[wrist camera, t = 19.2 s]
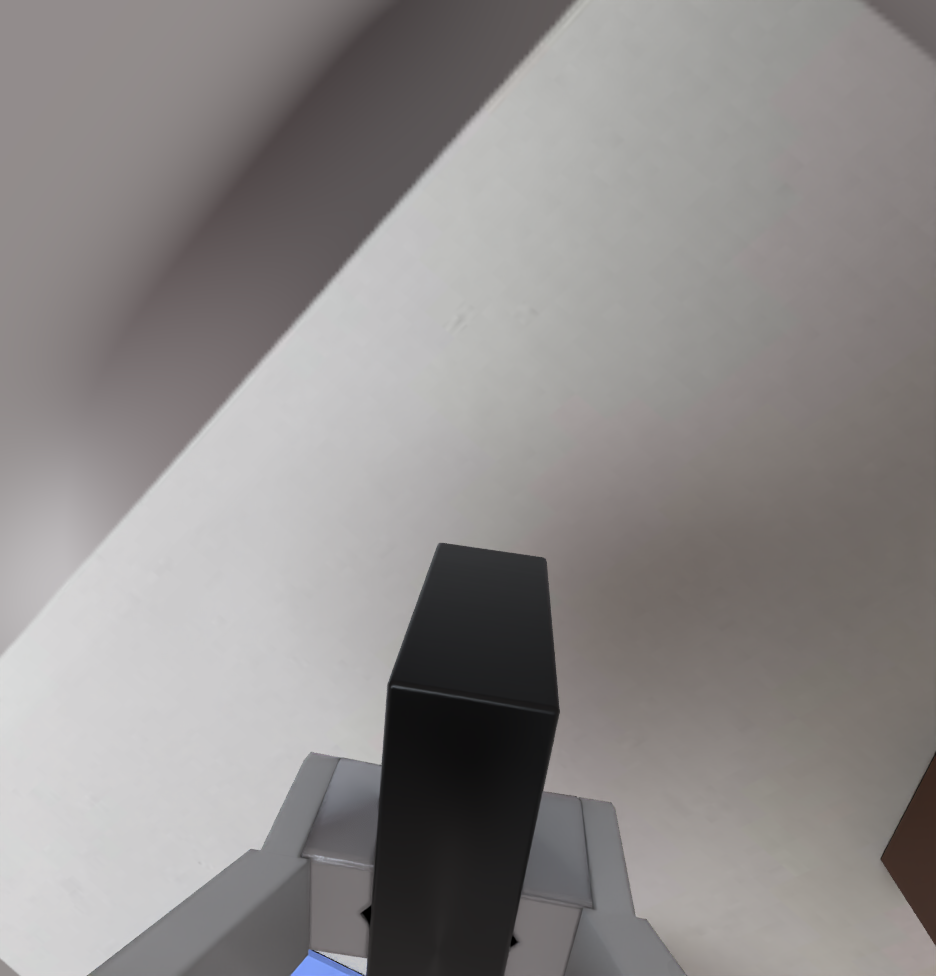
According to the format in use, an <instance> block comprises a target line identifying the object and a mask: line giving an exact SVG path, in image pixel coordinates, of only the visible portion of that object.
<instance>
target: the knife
mask: <svg viewBox="0 0 936 976" xmlns="http://www.w3.org/2000/svg"><path fill="white" fill-rule="evenodd" d="M559 713H560V709H559V697H558V686H557V674H556V663H555V652H554V640H553V629H552V617H551V606H550V595H549V583H548V572H547V562H546V559H545V558H543V557H536V556H530V555H523V554H516V553H509V552H502V551H495V550H488V549H481V548H474V547H467V546H460V545H453V544H447V543H439V544H438V546H437V548H436V551H435V553H434V556H433V559H432V562H431V565H430V567H429V570H428V573H427V576H426V578H425V581H424V584H423V587H422V590H421V592H420V595H419V598H418V601H417V604H416V606H415V609H414V612H413V615H412V618H411V620H410V623H409V626H408V629H407V631H406V634H405V637H404V640H403V643H402V645H401V648H400V651H399V654H398V657H397V659H396V662H395V665H394V668H393V670H392V673H391V676H390V679H389V682H388V685H387V699H386V713H385V726H384V740H383V754H382V767H381V781H380V795H379V808H378V822H377V836H376V849H375V863H374V877H373V890H372V904H371V918H370V931H369V945H368V959H367V972H366V976H504V973H505V969H506V964H507V959H508V954H509V950H510V945H511V940H512V935H513V931H514V926H515V921H516V917H517V912H518V907H519V902H520V898H521V893H522V888H523V883H524V879H525V874H526V869H527V865H528V860H529V855H530V850H531V846H532V841H533V836H534V831H535V827H536V822H537V817H538V813H539V808H540V803H541V798H542V794H543V789H544V784H545V779H546V775H547V770H548V765H549V761H550V756H551V751H552V746H553V742H554V737H555V732H556V727H557V723H558V718H559Z"/></svg>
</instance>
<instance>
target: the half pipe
mask: <svg viewBox="0 0 936 976" xmlns="http://www.w3.org/2000/svg"><path fill="white" fill-rule="evenodd" d="M290 976H363V975H361V974H359V973H357V972H355V971H353V970H351V969H348V968H346V967H344V966H342V965H340V964H338V963H336V962H334V961H332V960H330V959H328V958H326V957H324V956H322V955H320V954H318V953H316V952H314V951H312V950H308V956H307V957H306V958H305V959H304V960H303V961H302V963H301V964H300V965H299V966H298V967H297V968H296V970H295V971H294V972H293V973H292V974H291V975H290Z"/></svg>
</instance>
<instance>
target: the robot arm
mask: <svg viewBox="0 0 936 976" xmlns="http://www.w3.org/2000/svg"><path fill="white" fill-rule="evenodd" d="M381 767H382V765H378V764H373V763H368V762H363V761H358V760H353V759H348V758H341V757H335V756H330V755H325V754H319V753H314V752H311V753H310V754H309V755H308V756H307V757H306V758H305V760H304V761H303V763H302V765H301V767H300V769H299V771H298V774H297V776H296V778H295V780H294V782H293V784H292V786H291V788H290V790H289V792H288V794H287V797H286V799H285V801H284V803H283V805H282V807H281V809H280V811H279V813H278V815H277V817H276V820H275V822H274V824H273V826H272V828H271V830H270V832H269V834H268V836H267V838H266V840H265V842H264V845H263V847H262V849H261V850H255V849H250V850H249V851H247V852H246V853H245V854H244V855H242V856H241V857H240V858H238V859H237V860H236V861H235V862H233V863H232V864H231V865H229V866H228V867H227V868H225V869H224V870H223V871H222V872H220V873H219V874H218V875H216V876H215V877H214V878H213V879H211V880H210V881H209V882H207V883H206V884H205V885H204V886H202V887H201V888H200V889H198V890H197V891H196V892H194V893H193V894H192V895H191V896H189V897H188V898H187V899H185V900H184V901H183V902H182V903H180V904H179V905H178V906H176V907H175V908H174V909H173V910H171V911H170V912H169V913H167V914H166V915H165V916H164V917H162V918H161V919H160V920H158V921H157V922H156V923H154V924H153V925H152V926H151V927H149V928H148V929H147V930H145V931H144V932H143V933H142V934H140V935H139V936H138V937H136V938H135V939H134V940H133V941H131V942H130V943H129V944H127V945H126V946H125V947H123V948H122V949H121V950H120V951H118V952H117V953H116V954H114V955H113V956H112V957H111V958H109V959H108V960H107V961H105V962H104V963H103V964H102V965H100V966H99V967H98V968H96V969H95V970H94V971H93V972H91V973H90V974H89V975H87V976H290V975H291V974H292V973H293V972H294V971H295V970H296V968H297V967H298V966H299V965H300V964H301V963H302V961H303V960H304V959H305V958H306V957H307V956H308V950H316V951H322V952H329V953H335V954H342V955H348V956H355V957H362V958H368V945H369V931H370V918H371V904H372V890H373V877H374V863H375V849H376V836H377V822H378V808H379V795H380V781H381ZM504 976H687V975H686V974H685V972H684V971H683V969H682V968H681V967H680V965H679V964H678V963H677V961H676V960H675V958H674V957H673V956H672V954H671V953H670V951H669V950H668V949H667V947H666V946H665V944H664V943H663V942H662V940H661V939H660V937H659V936H658V935H657V933H656V932H655V930H654V929H653V928H652V926H651V925H650V924H649V922H648V921H647V919H642V918H638V917H636V916H635V911H634V905H633V900H632V895H631V890H630V884H629V879H628V874H627V868H626V863H625V858H624V852H623V847H622V842H621V836H620V831H619V826H618V821H617V815H616V810H615V808H614V806H613V804H612V803H611V802H605V801H599V800H593V799H587V798H581V797H579V798H578V797H577V796H571V795H564V794H558V793H551V792H545V791H543V794H542V798H541V803H540V808H539V813H538V817H537V822H536V827H535V831H534V836H533V841H532V846H531V850H530V855H529V860H528V865H527V869H526V874H525V879H524V883H523V888H522V893H521V898H520V902H519V907H518V912H517V917H516V921H515V926H514V931H513V935H512V940H511V945H510V950H509V954H508V959H507V964H506V969H505V973H504Z"/></svg>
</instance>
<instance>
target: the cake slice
mask: <svg viewBox="0 0 936 976" xmlns="http://www.w3.org/2000/svg"><path fill="white" fill-rule="evenodd" d="M881 861H882V862H883V864H884V866H885V867H886V869H887V870H888V872H889V873H890V875H891V877H892V878H893V880H894V881H895V883H896V884H897V886H898V887H899V889H900V891H901V892H902V894H903V895H904V897H905V898H906V900H907V902H908V903H909V905H910V906H911V908H912V909H913V911H914V913H915V914H916V916H917V917H918V919H919V920H920V922H921V923H922V925H923V927H924V928H925V930H926V931H927V933H928V934H929V936H930V938H931V939H932V941H933V942H934V944H935V945H936V755H935V757H934V759H933V761H932V762H931V764H930V766H929V768H928V770H927V772H926V774H925V776H924V778H923V780H922V782H921V783H920V785H919V787H918V789H917V791H916V793H915V795H914V797H913V799H912V801H911V803H910V805H909V806H908V808H907V810H906V812H905V814H904V816H903V818H902V820H901V822H900V824H899V826H898V828H897V829H896V831H895V833H894V835H893V837H892V839H891V841H890V843H889V845H888V847H887V849H886V851H885V852H884V854H883V856H882V858H881Z"/></svg>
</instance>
